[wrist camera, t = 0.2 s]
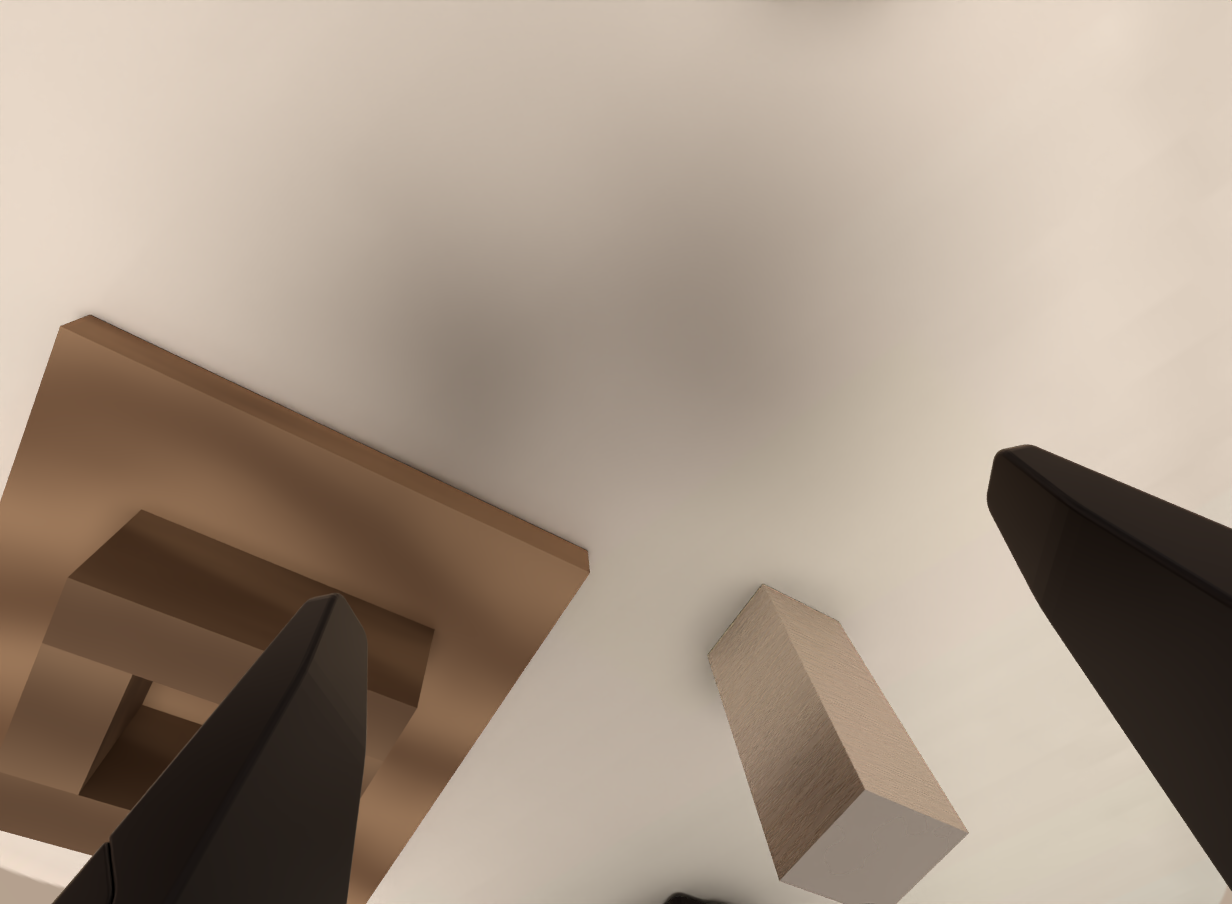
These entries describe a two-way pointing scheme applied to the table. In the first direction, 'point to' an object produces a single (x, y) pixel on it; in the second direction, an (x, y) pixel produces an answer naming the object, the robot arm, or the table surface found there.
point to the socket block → (236, 590)
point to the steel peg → (828, 757)
